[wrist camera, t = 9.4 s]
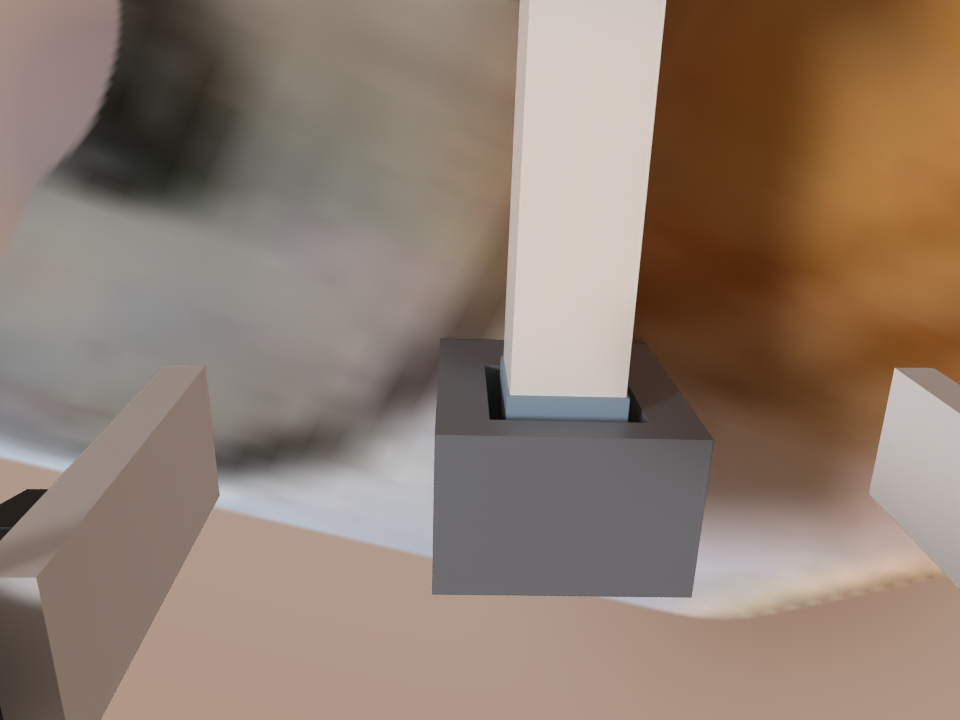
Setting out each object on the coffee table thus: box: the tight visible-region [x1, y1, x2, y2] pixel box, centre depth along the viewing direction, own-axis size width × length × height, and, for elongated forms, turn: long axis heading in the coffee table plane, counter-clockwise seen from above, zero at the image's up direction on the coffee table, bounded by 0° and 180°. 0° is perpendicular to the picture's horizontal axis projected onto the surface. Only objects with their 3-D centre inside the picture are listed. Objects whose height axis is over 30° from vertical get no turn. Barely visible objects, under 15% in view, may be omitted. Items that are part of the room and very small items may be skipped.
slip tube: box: [499, 0, 666, 422], centre depth 28 cm, size 19×4×4 cm, turn 178°
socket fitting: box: [432, 339, 714, 597], centre depth 32 cm, size 6×9×10 cm, turn 88°
